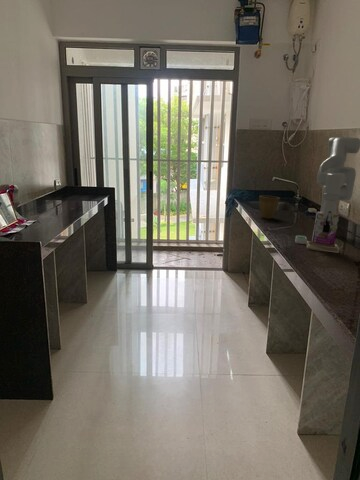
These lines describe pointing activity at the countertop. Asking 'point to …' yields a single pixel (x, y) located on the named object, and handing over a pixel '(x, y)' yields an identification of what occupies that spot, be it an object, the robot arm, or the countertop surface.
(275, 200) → the plant pot
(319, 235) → the candy bar box
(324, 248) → the tray
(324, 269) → the countertop surface
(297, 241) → the button housing
